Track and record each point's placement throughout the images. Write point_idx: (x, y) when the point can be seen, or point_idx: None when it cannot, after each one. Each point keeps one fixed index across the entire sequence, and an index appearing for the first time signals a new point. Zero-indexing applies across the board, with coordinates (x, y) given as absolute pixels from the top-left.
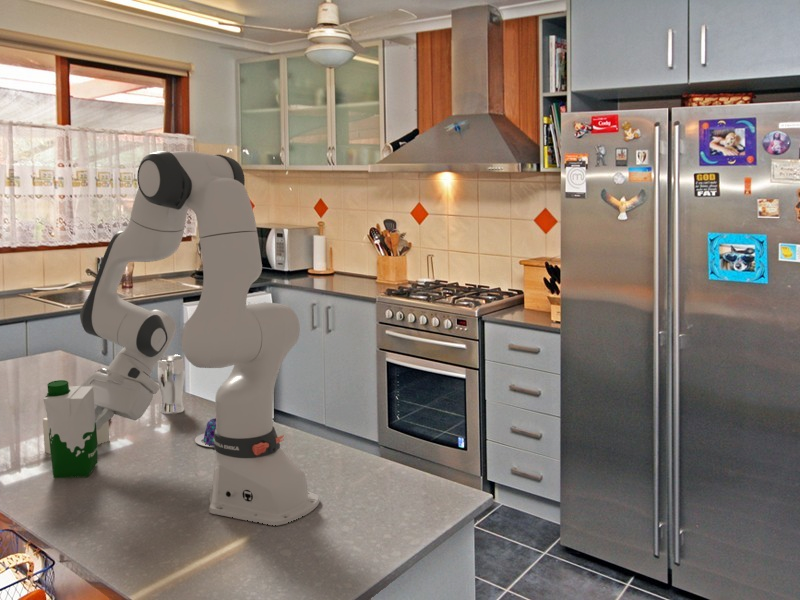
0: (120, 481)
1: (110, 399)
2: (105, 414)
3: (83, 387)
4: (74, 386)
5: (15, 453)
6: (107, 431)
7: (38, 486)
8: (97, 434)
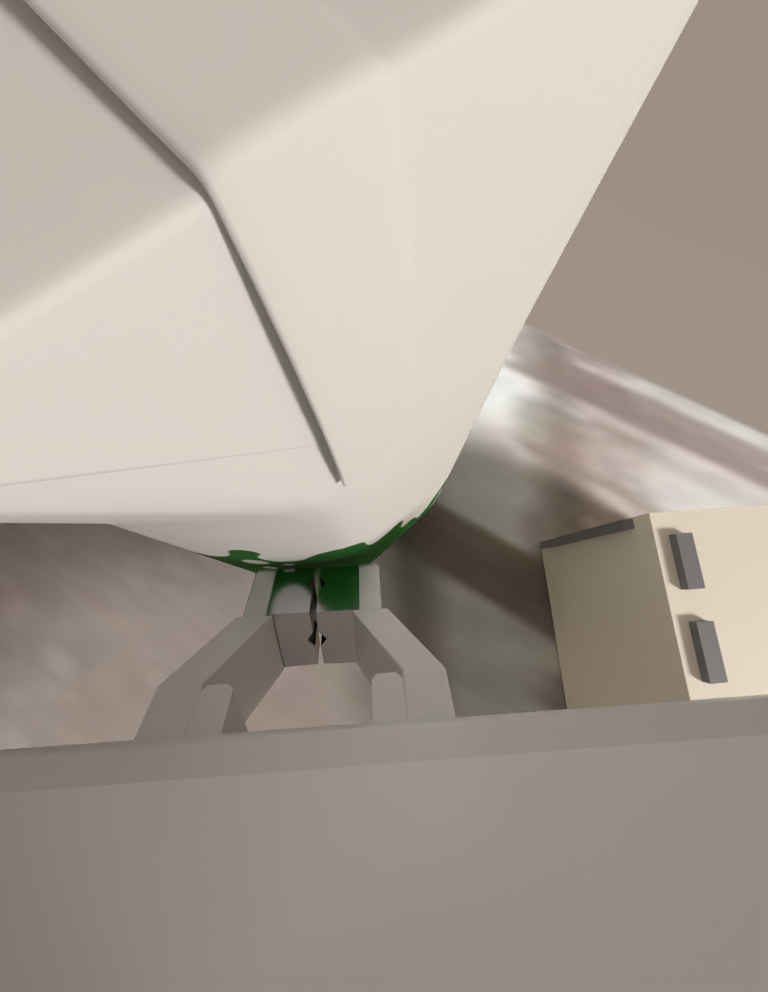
0: (69, 549)
1: (36, 912)
2: (164, 687)
3: (20, 192)
4: (378, 33)
5: (724, 449)
6: None
7: None
8: None
